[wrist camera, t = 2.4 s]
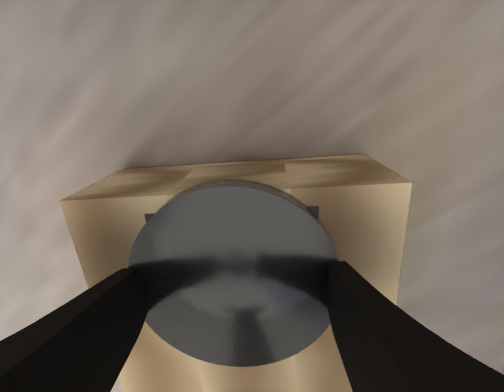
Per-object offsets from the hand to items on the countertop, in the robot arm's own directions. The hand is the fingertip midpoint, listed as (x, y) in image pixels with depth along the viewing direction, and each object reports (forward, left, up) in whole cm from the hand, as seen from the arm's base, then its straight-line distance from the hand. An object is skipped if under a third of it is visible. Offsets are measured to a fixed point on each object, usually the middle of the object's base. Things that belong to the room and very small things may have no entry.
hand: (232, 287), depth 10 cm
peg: (0, 0, -5) cm, 5 cm away
